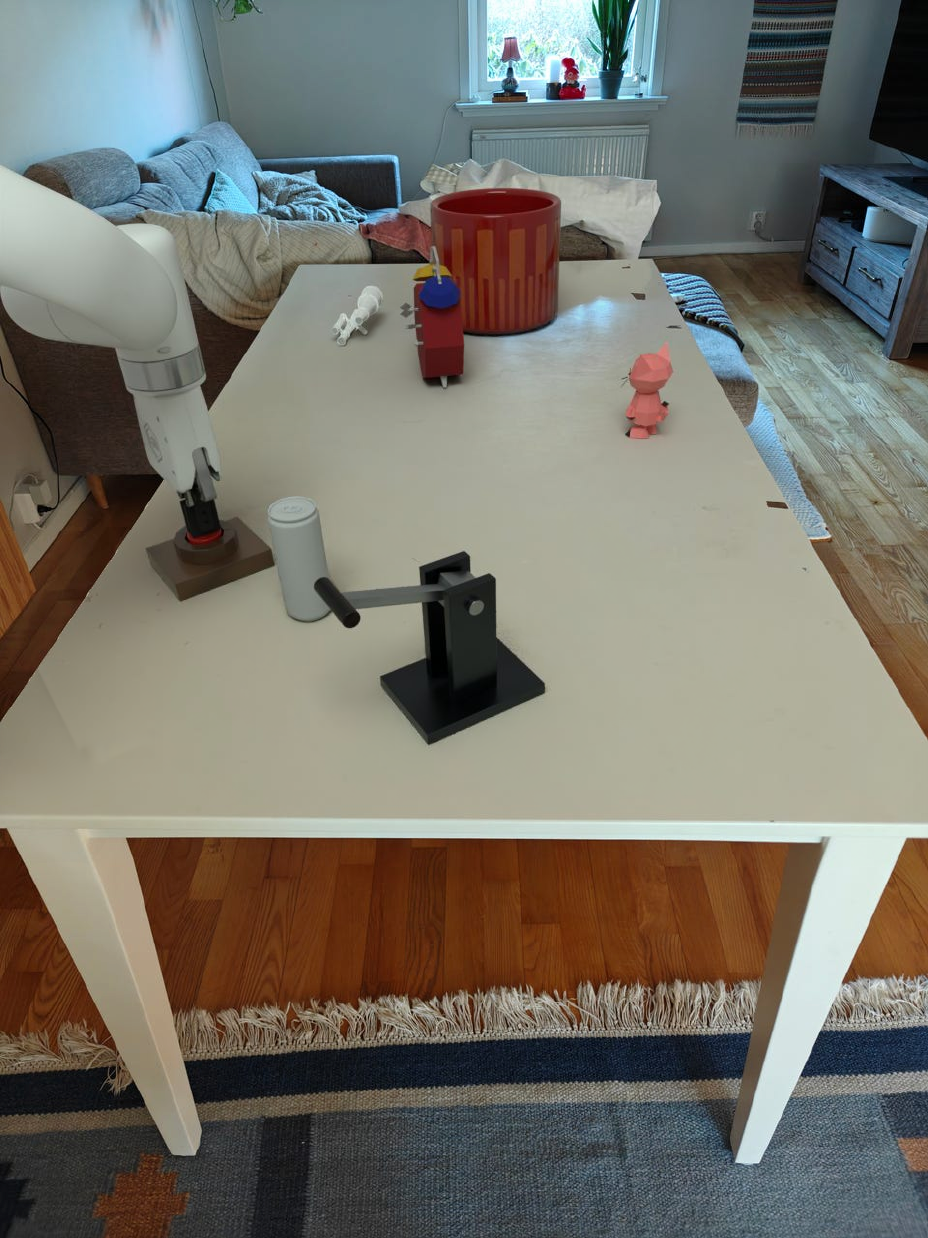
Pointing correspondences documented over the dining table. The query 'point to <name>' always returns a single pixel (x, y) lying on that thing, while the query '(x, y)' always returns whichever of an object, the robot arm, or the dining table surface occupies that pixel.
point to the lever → (383, 596)
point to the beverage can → (299, 555)
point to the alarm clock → (437, 322)
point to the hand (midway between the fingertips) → (204, 531)
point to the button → (205, 538)
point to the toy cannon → (359, 313)
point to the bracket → (460, 660)
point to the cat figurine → (648, 392)
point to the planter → (500, 256)
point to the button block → (209, 559)
